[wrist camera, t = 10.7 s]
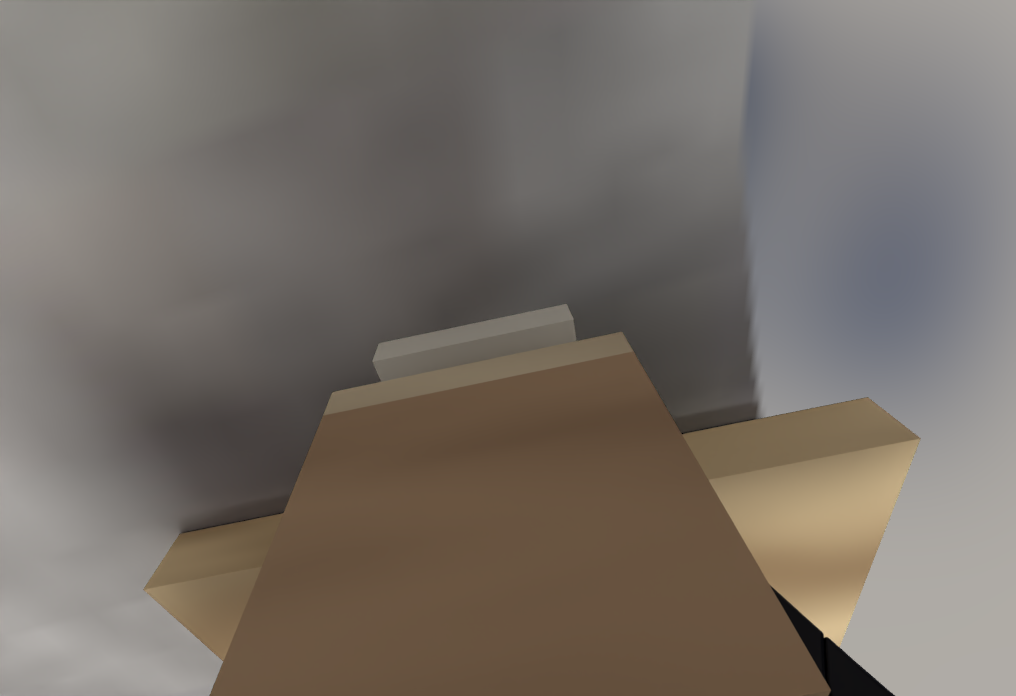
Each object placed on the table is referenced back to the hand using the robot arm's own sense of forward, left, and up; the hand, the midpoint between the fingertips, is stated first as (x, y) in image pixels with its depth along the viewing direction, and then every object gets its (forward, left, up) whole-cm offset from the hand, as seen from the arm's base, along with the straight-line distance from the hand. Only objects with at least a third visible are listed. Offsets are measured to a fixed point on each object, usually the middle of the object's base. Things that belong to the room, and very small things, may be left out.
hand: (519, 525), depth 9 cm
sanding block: (0, 0, -1) cm, 1 cm away
